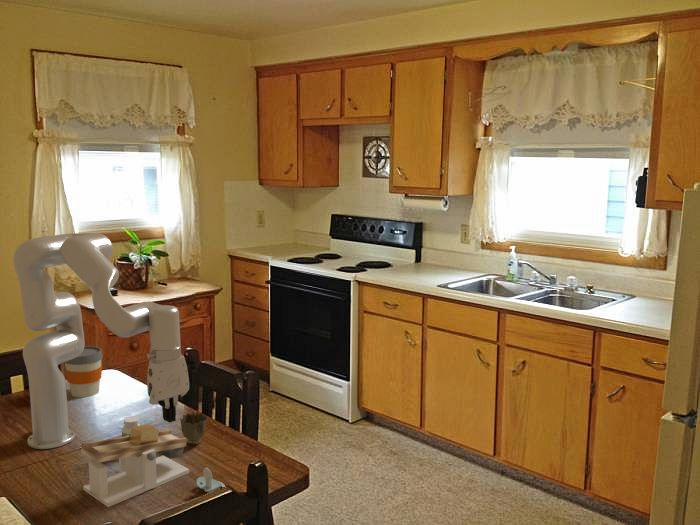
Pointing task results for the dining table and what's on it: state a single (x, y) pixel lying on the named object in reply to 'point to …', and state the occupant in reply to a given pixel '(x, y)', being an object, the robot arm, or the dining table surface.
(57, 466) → the dining table surface
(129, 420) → the supplement bottle
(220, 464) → the dining table surface
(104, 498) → the beam stand
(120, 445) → the balance beam
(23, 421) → the dining table surface
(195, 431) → the cup
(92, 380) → the reusable coffee cup
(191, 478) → the dining table surface
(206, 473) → the pacifier
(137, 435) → the slider weight
